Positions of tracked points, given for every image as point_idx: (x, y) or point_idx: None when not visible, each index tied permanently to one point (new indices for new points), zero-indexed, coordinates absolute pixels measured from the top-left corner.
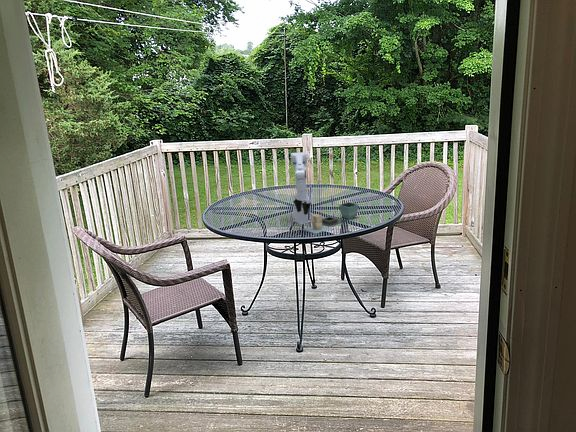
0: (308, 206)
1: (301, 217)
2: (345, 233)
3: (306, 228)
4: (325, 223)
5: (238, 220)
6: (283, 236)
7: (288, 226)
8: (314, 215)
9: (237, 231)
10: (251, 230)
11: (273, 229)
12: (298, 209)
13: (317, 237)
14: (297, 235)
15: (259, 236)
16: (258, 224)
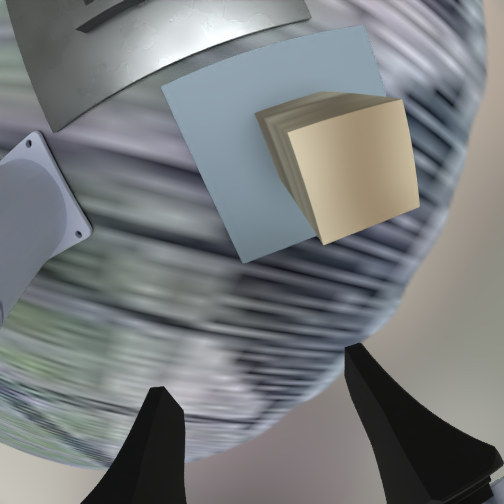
0: (435, 438)
1: (42, 254)
2: (472, 16)
3: (244, 229)
4: (170, 3)
5: (23, 424)
6: (305, 373)
7: (112, 322)
8: (332, 207)
9: None
10: None
11: None
12: (177, 435)
13: (448, 212)
14: (340, 313)
15: (243, 432)
16: (64, 408)
